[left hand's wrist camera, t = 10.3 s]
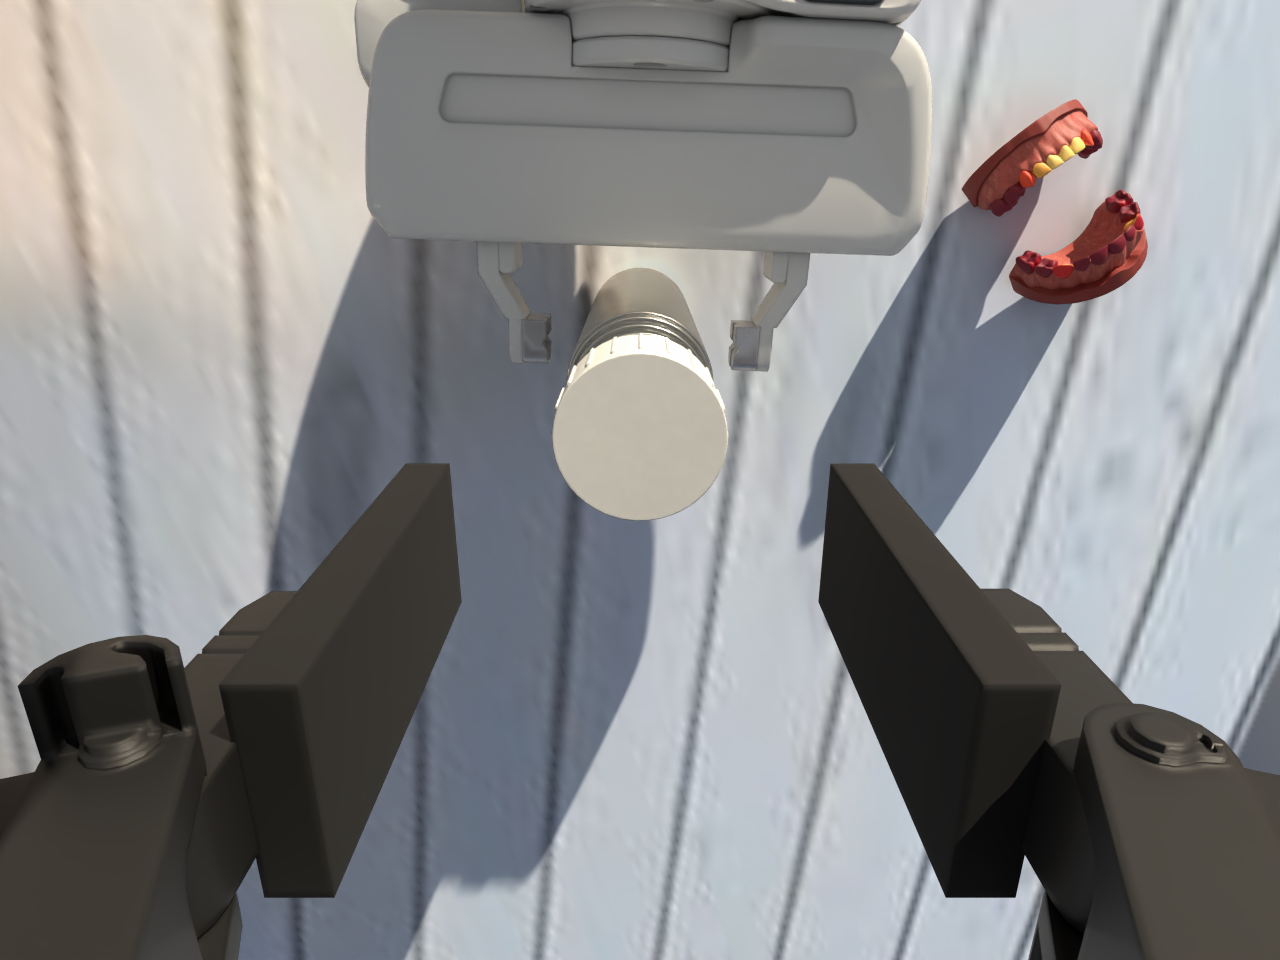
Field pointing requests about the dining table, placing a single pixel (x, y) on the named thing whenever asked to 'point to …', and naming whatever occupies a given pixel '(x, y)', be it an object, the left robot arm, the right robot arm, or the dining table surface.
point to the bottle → (639, 314)
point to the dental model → (1104, 245)
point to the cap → (640, 428)
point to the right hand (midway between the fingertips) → (639, 364)
